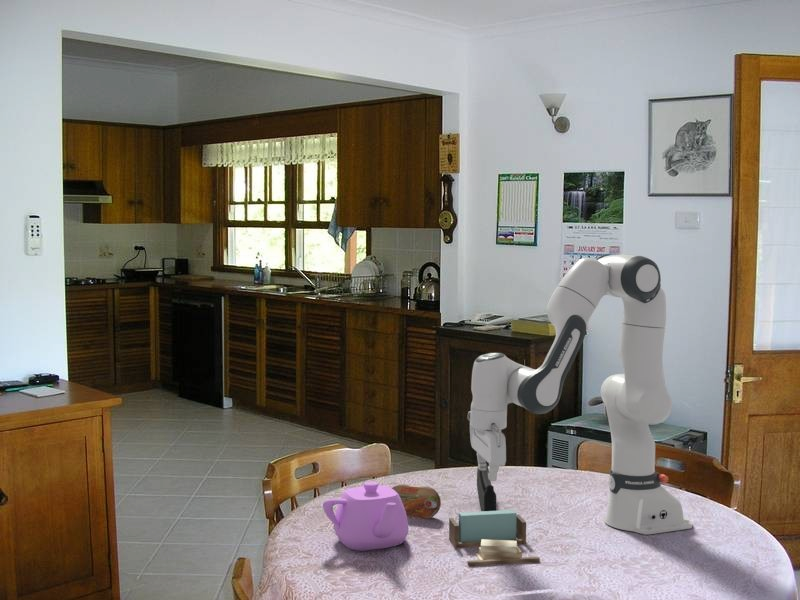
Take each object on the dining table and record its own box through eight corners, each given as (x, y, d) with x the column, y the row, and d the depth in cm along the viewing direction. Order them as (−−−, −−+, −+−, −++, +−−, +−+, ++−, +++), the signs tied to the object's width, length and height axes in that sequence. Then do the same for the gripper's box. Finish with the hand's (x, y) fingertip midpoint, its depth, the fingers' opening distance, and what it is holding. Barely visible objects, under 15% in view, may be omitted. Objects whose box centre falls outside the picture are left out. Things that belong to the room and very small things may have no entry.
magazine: (497, 496, 228) (489, 437, 256) (485, 496, 228) (478, 437, 256) (495, 551, 234) (487, 487, 262) (483, 551, 234) (476, 487, 262)
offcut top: (516, 546, 210) (516, 540, 210) (516, 553, 206) (516, 547, 206) (481, 545, 211) (481, 539, 211) (480, 551, 207) (480, 545, 207)
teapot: (312, 538, 222) (312, 479, 221) (390, 527, 231) (390, 470, 229) (343, 570, 201) (343, 506, 200) (427, 557, 210) (427, 495, 209)
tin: (386, 514, 241) (386, 484, 241) (390, 510, 244) (390, 481, 244) (438, 521, 236) (438, 490, 235) (442, 517, 239) (442, 487, 238)
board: (513, 541, 221) (513, 509, 221) (515, 544, 219) (516, 513, 218) (458, 544, 219) (458, 512, 218) (460, 547, 216) (461, 515, 216)
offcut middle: (515, 550, 212) (515, 544, 212) (521, 557, 207) (521, 551, 207) (478, 553, 210) (478, 547, 210) (483, 560, 206) (483, 554, 206)
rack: (518, 537, 223) (518, 514, 223) (541, 564, 206) (542, 539, 205) (449, 541, 220) (449, 518, 220) (466, 568, 203) (466, 543, 202)
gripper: (513, 428, 207) (511, 486, 208) (490, 411, 227) (488, 464, 228) (487, 429, 205) (485, 487, 207) (466, 411, 226) (464, 464, 227)
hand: (487, 475), depth 217 cm, fingers open, 8 cm apart
